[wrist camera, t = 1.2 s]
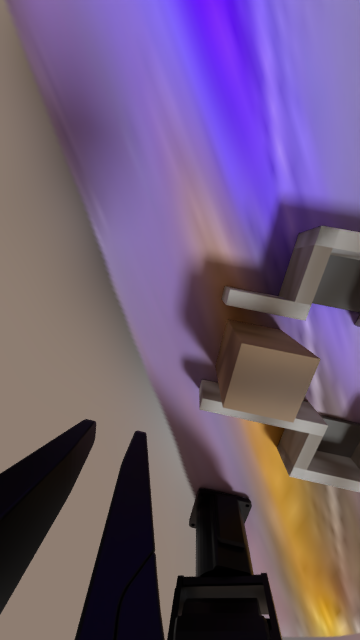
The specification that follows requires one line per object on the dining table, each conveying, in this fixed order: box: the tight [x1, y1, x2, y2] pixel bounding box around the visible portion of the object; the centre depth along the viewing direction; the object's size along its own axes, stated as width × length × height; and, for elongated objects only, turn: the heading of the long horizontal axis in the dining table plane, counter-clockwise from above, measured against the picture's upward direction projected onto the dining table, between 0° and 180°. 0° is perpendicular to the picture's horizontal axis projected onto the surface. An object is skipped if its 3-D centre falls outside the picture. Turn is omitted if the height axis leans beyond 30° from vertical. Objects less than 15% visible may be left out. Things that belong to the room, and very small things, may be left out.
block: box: [215, 319, 320, 423], centre depth 16 cm, size 5×5×6 cm
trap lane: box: [199, 226, 360, 492], centre depth 17 cm, size 25×21×4 cm
